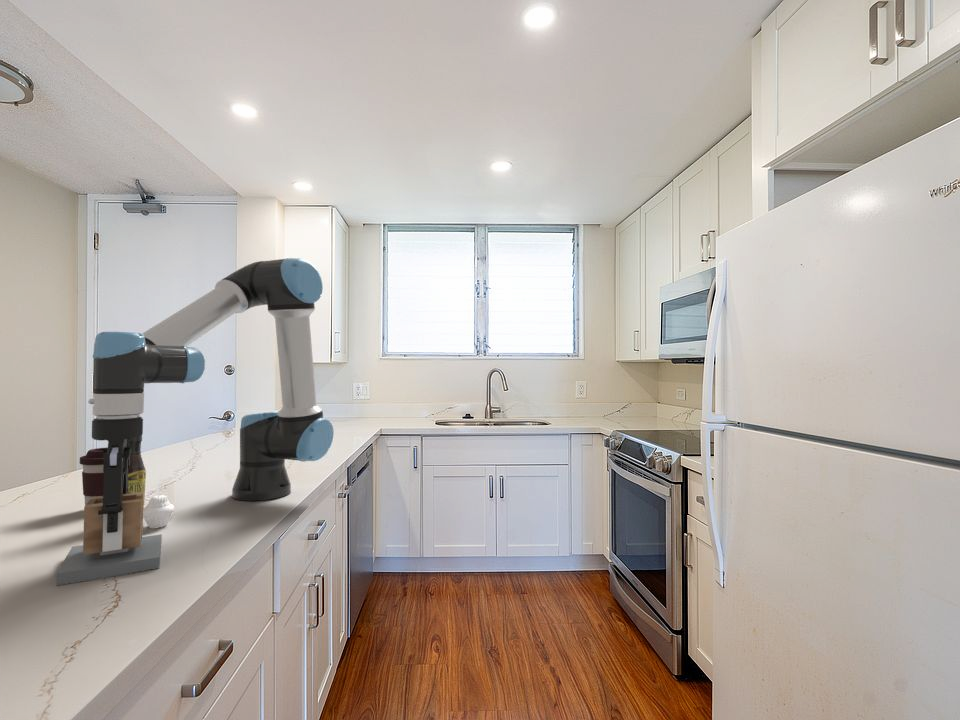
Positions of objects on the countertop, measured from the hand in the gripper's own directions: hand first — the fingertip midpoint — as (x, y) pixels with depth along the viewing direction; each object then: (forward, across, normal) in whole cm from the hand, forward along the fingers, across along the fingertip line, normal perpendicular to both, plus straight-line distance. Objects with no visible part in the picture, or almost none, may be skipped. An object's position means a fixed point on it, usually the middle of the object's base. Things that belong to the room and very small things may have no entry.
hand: (115, 542), depth 89 cm
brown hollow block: (0, 0, 0) cm, 0 cm away
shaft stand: (+4, 0, 0) cm, 4 cm away
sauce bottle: (+4, -27, 0) cm, 27 cm away
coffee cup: (+4, -43, -6) cm, 44 cm away
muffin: (+4, -21, +6) cm, 22 cm away
